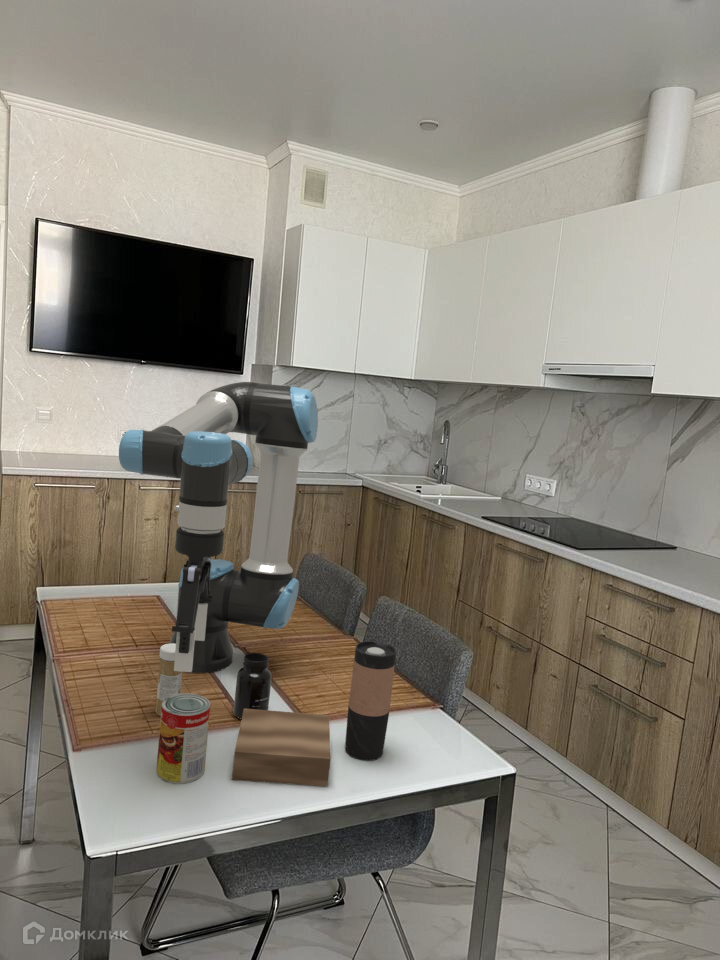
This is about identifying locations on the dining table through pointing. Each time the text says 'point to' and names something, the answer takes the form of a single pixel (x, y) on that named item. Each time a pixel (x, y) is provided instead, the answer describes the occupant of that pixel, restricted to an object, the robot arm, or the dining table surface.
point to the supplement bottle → (252, 684)
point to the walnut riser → (283, 748)
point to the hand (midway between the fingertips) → (190, 654)
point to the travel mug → (369, 700)
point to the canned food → (183, 738)
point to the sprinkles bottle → (167, 675)
